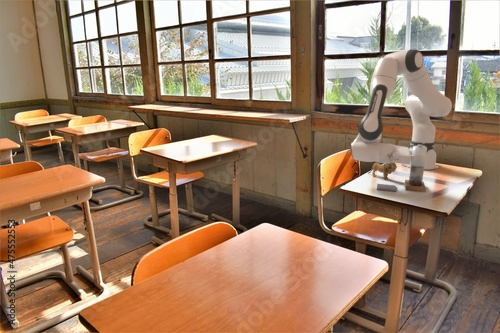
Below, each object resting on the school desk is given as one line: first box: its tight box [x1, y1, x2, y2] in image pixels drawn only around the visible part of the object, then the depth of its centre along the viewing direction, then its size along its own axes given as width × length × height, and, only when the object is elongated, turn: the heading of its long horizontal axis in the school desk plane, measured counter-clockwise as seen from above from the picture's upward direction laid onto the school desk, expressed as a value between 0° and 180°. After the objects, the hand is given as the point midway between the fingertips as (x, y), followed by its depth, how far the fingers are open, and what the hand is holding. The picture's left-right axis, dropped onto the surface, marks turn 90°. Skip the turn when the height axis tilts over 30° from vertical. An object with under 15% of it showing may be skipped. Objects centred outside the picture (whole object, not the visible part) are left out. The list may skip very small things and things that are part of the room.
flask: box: [408, 165, 425, 186], centre depth 169 cm, size 5×5×9 cm
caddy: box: [404, 179, 427, 193], centre depth 172 cm, size 10×8×4 cm
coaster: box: [376, 183, 397, 193], centre depth 171 cm, size 8×8×1 cm
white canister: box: [411, 145, 427, 167], centre depth 167 cm, size 6×6×9 cm
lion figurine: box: [367, 161, 398, 181], centre depth 187 cm, size 15×5×9 cm, turn 42°
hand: (421, 156), depth 167 cm, fingers closed on white canister, 6 cm apart
